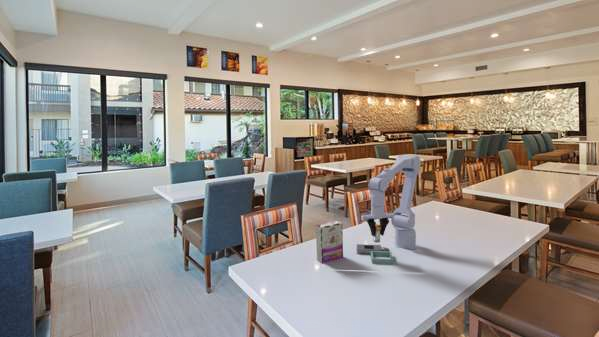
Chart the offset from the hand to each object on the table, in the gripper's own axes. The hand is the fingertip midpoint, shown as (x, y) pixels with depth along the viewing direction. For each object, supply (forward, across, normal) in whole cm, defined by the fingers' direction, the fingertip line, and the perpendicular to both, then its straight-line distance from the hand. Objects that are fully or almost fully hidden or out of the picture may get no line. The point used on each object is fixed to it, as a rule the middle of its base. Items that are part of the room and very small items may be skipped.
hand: (377, 235), depth 142 cm
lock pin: (+3, 0, 0) cm, 3 cm away
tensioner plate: (+10, -1, -6) cm, 12 cm away
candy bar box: (+11, +21, -4) cm, 24 cm away
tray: (+10, -1, +3) cm, 11 cm away
